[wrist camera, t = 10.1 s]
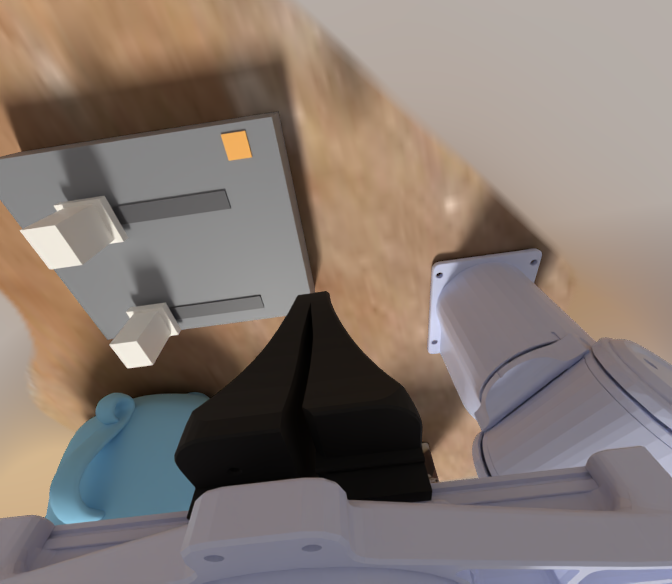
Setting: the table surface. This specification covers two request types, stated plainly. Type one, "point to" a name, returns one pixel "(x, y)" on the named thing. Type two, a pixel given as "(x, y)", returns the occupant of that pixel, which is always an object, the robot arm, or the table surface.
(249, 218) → the slider control panel
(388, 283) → the table surface
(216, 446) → the robot arm
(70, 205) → the handle
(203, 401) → the decorative pot
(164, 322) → the on handle
